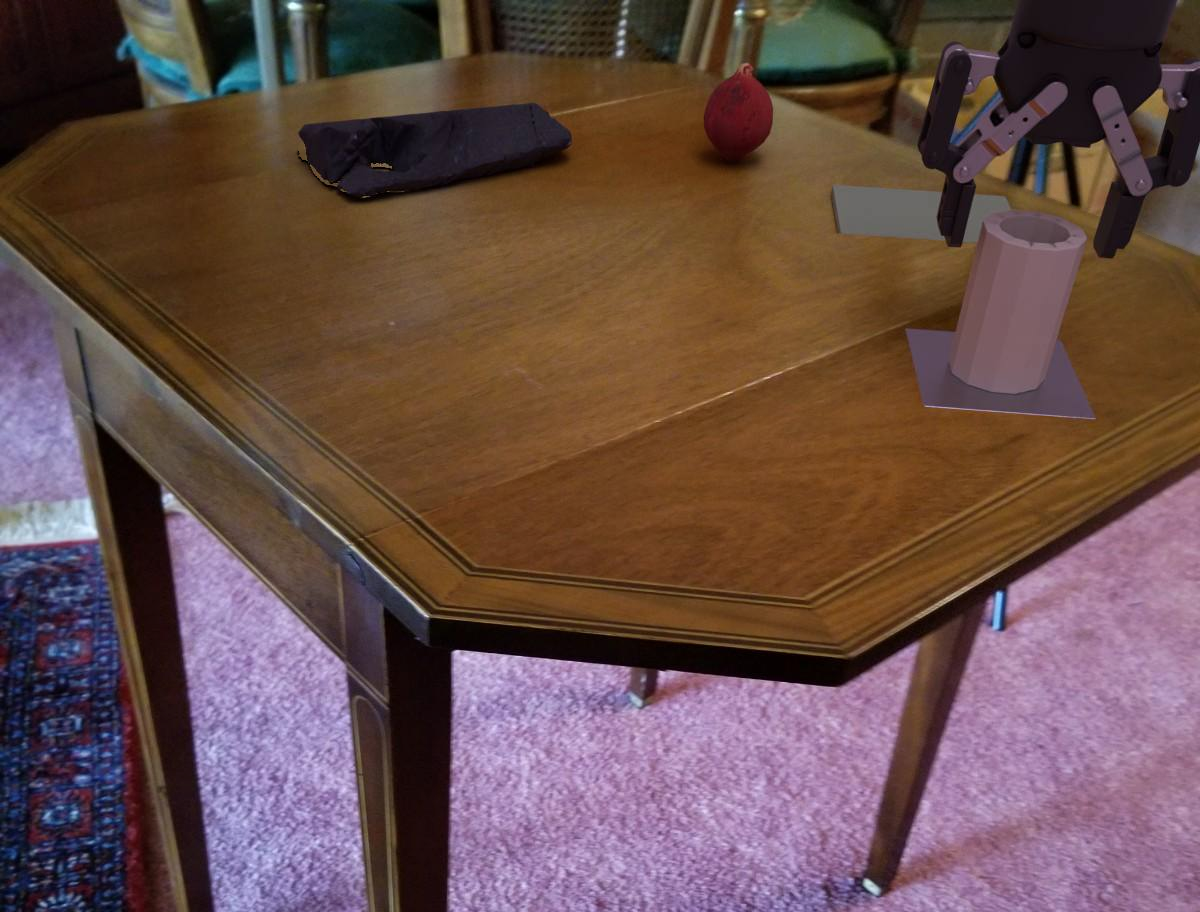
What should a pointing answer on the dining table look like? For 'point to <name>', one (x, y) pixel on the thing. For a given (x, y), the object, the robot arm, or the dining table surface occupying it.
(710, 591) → the dining table surface
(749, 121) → the onion
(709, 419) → the dining table surface
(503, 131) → the black folded cloth
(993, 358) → the paper roll
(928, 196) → the mat
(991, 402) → the roll stand
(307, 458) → the dining table surface
